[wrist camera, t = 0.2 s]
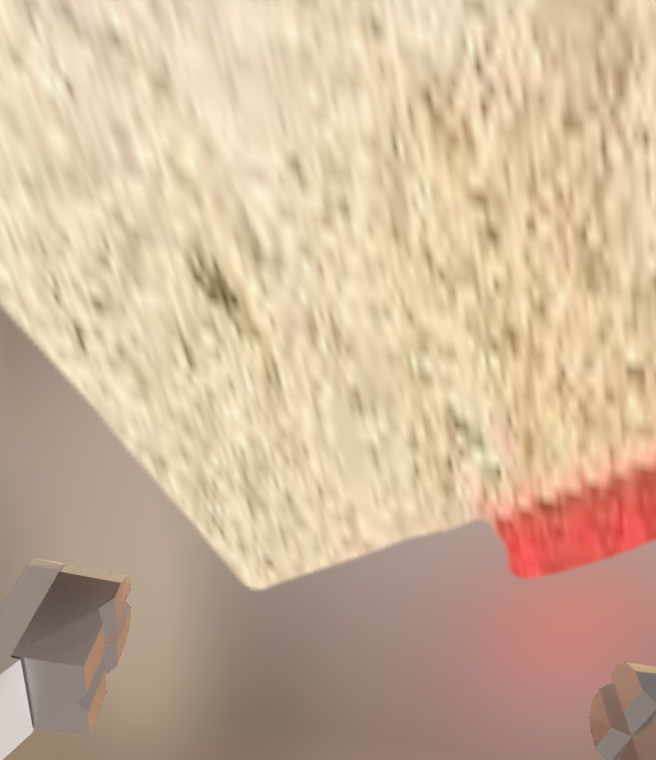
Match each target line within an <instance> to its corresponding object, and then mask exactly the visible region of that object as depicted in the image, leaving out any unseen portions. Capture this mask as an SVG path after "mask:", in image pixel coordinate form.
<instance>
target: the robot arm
mask: <svg viewBox="0 0 656 760" xmlns="http://www.w3.org/2000/svg"><path fill="white" fill-rule="evenodd" d="M130 590H131V584H130V576H126V575H121V574H116V573H111V572H105V571H100V570H95V569H90V568H85V567H80V566H75V565H69V564H65V563H60V562H54V561H48V560H43V559H37V558H36V559H34V560H33V561H32V562H31V563H30V564H29V565H28V566H26V568H25V569H24V571H23V573H22V574H21V576H20V577H19V579H18V580H17V582H16V583H15V585H14V587H13V589H12V590H11V592H10V593H9V595H8V596H7V598H6V599H5V601H4V603H3V604H2V606H1V608H0V760H3V759H4V758H5V757H6V756H7V755H8V754H9V753H10V752H11V751H12V750H13V749H15V748H16V747H17V746H18V745H19V744H20V743H21V742H22V741H23V740H24V739H26V738H27V737H28V736H29V735H30V734H31V733H32V732H33V727H34V728H42V729H49V730H55V731H63V732H70V733H77V734H84V735H90V732H91V730H92V728H93V725H94V723H95V720H96V718H97V715H98V713H99V710H100V708H101V705H102V703H103V700H104V698H105V695H106V693H107V690H106V674H107V673H109V672H110V671H111V670H112V669H114V668H115V667H116V666H117V665H118V663H119V660H120V657H121V655H122V652H123V650H124V646H125V643H126V639H127V636H128V632H129V627H130V620H131V606H130V605H129V604H128V603H127V602H126V600H127V597H128V595H129V593H130ZM611 676H612V679H613V682H614V683H611V684H609V685H607V686H605V687H602V688H600V689H599V690H598V692H597V693H596V695H595V696H594V698H593V699H592V703H591V709H590V716H589V717H590V728H591V733H592V737H593V741H594V745H595V748H596V749H597V750H598V752H599V753H600V754H601V755H602V756H603V757H604V759H605V760H656V667H653V666H647V665H640V664H634V663H628V662H624V663H621V664H618V665H617V666H616V667H615V669H614V670H613V671H612V672H611Z"/></svg>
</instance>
